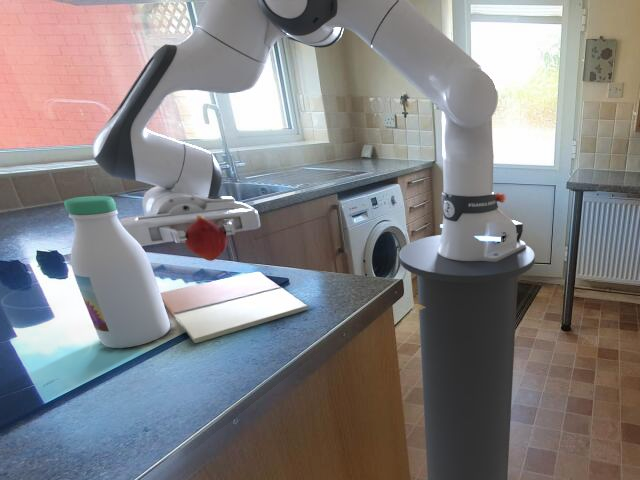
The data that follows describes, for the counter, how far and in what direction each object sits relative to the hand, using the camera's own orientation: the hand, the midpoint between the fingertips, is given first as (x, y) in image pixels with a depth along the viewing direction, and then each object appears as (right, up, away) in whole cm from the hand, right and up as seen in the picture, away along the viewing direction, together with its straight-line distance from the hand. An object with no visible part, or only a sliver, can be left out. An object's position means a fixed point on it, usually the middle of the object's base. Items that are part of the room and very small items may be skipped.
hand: (206, 233), depth 69 cm
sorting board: (+3, -12, +1) cm, 12 cm away
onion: (-1, -5, +3) cm, 5 cm away
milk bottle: (-3, -16, -9) cm, 19 cm away
